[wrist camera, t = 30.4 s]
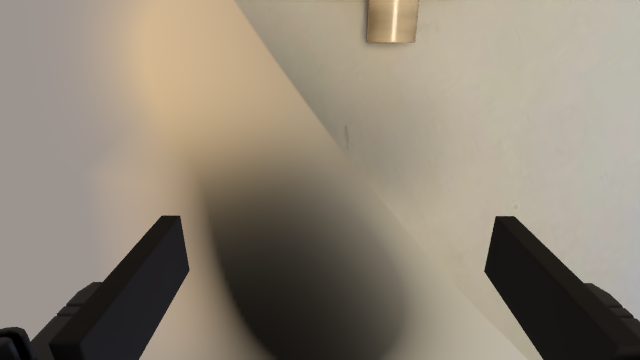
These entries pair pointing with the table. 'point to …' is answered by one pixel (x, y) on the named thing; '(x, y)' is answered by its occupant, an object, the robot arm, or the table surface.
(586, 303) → the robot arm
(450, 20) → the table surface
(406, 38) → the wooden dowel rod
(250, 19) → the table surface
